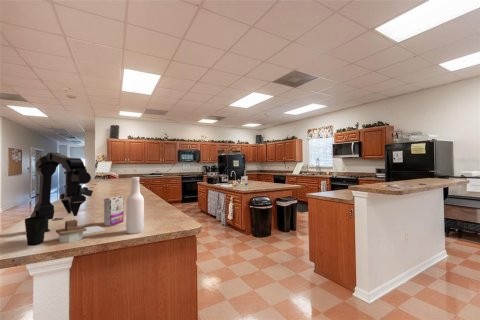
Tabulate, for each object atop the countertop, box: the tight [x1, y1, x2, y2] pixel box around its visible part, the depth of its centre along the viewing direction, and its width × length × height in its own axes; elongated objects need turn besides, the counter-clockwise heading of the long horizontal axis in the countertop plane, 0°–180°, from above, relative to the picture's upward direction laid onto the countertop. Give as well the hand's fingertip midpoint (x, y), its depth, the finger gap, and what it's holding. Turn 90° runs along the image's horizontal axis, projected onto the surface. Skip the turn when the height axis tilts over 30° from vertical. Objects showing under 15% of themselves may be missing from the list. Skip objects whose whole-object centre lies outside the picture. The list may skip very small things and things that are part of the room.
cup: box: [24, 216, 47, 247], centre depth 105 cm, size 8×8×12 cm
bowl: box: [57, 232, 84, 244], centre depth 111 cm, size 9×9×4 cm
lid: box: [55, 219, 86, 236], centre depth 111 cm, size 10×10×5 cm
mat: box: [83, 224, 107, 236], centre depth 126 cm, size 14×12×1 cm
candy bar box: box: [103, 195, 124, 227], centre depth 141 cm, size 11×5×16 cm, turn 168°
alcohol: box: [125, 176, 145, 235], centre depth 124 cm, size 9×9×30 cm
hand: (72, 214), depth 111 cm, fingers open, 9 cm apart
